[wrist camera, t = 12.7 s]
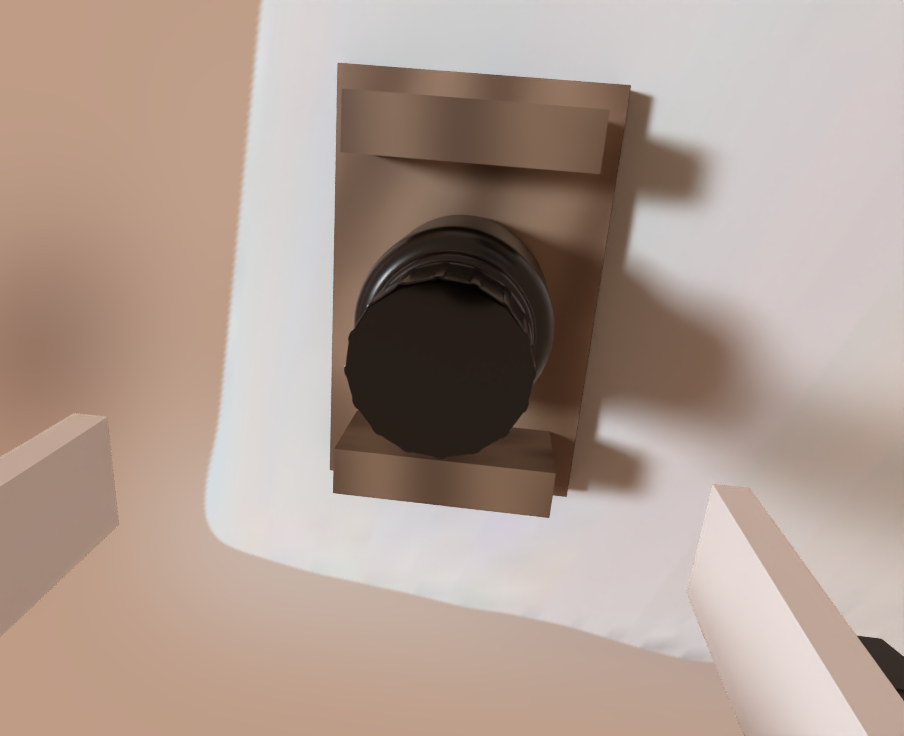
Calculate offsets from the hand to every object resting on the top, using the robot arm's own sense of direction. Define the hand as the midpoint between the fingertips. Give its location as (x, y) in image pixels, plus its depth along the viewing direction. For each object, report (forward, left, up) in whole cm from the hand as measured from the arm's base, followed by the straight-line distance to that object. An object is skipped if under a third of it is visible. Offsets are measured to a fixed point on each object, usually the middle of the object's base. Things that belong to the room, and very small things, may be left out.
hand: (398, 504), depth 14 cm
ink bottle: (0, 0, -21) cm, 21 cm away
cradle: (0, 0, -22) cm, 22 cm away
